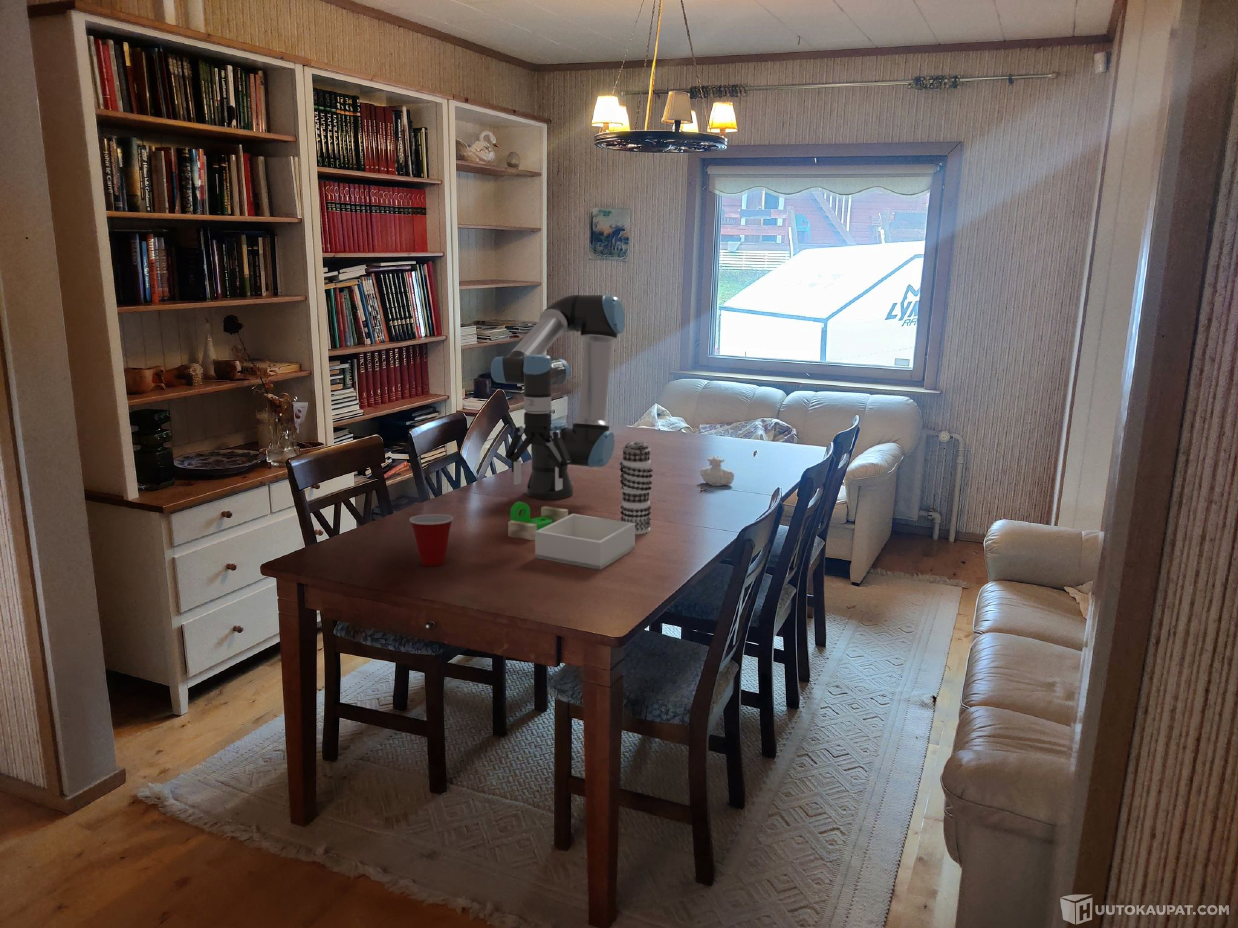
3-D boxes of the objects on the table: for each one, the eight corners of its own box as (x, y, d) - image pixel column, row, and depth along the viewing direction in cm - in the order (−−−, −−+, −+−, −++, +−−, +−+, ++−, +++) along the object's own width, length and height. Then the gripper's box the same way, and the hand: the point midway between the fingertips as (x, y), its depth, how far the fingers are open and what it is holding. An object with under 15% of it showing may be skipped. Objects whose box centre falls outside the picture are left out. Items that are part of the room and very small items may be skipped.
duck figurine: (699, 489, 310) (693, 468, 302) (704, 472, 314) (699, 451, 306) (732, 493, 305) (727, 472, 297) (738, 476, 310) (733, 454, 302)
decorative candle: (614, 526, 258) (615, 441, 253) (644, 523, 261) (645, 439, 256) (625, 535, 250) (626, 447, 244) (656, 532, 253) (658, 445, 248)
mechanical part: (524, 535, 250) (523, 507, 248) (510, 530, 254) (510, 503, 253) (556, 526, 259) (556, 499, 257) (542, 522, 263) (542, 496, 261)
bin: (535, 557, 231) (535, 531, 229) (572, 538, 247) (572, 513, 246) (600, 569, 222) (600, 542, 221) (634, 548, 239) (635, 523, 237)
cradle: (508, 536, 249) (508, 522, 248) (544, 519, 265) (544, 506, 264) (532, 540, 245) (532, 526, 244) (568, 522, 262) (568, 509, 261)
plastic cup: (457, 555, 232) (456, 510, 229) (451, 569, 222) (450, 522, 219) (415, 555, 232) (413, 510, 229) (407, 569, 221) (405, 522, 219)
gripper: (492, 409, 250) (493, 483, 254) (569, 417, 239) (569, 494, 243) (507, 406, 256) (508, 478, 261) (583, 413, 245) (583, 489, 250)
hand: (538, 486), depth 252 cm, fingers open, 13 cm apart
